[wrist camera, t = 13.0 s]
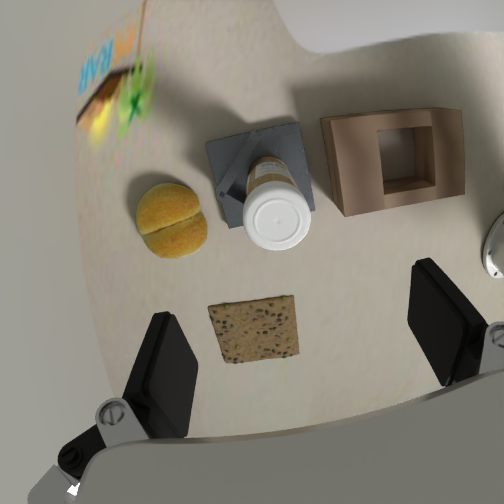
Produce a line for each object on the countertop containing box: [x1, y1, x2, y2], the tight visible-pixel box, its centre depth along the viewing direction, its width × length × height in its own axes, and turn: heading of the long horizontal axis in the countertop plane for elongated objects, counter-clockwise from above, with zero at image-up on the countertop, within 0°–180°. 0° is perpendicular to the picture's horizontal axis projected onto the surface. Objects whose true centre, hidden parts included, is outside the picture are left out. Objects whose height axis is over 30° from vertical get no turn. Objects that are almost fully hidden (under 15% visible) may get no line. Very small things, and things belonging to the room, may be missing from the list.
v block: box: [205, 122, 315, 229], centre depth 30 cm, size 10×11×4 cm
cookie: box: [208, 295, 299, 364], centre depth 43 cm, size 12×12×1 cm
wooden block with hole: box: [320, 108, 465, 217], centre depth 29 cm, size 16×10×4 cm, turn 103°
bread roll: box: [136, 183, 207, 259], centre depth 33 cm, size 8×9×4 cm
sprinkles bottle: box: [243, 157, 311, 250], centre depth 26 cm, size 5×5×13 cm
